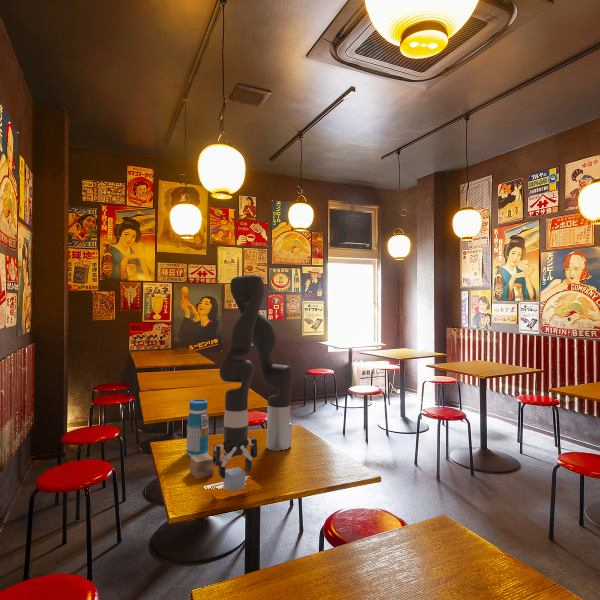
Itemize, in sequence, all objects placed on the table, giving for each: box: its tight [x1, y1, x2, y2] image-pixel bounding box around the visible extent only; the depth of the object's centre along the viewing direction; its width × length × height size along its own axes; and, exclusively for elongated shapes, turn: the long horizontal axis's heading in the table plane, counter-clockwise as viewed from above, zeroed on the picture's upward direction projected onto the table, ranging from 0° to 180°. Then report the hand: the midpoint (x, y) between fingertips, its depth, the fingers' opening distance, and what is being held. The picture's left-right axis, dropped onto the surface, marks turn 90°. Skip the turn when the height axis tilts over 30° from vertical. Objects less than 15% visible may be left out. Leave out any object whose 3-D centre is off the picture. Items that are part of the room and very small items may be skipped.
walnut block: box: [189, 452, 215, 480], centre depth 143 cm, size 6×6×6 cm
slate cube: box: [223, 466, 247, 492], centre depth 134 cm, size 5×5×5 cm
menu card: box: [203, 475, 251, 490], centre depth 134 cm, size 16×11×1 cm
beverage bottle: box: [186, 398, 210, 457], centre depth 163 cm, size 8×8×20 cm
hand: (235, 474), depth 134 cm, fingers open, 8 cm apart
